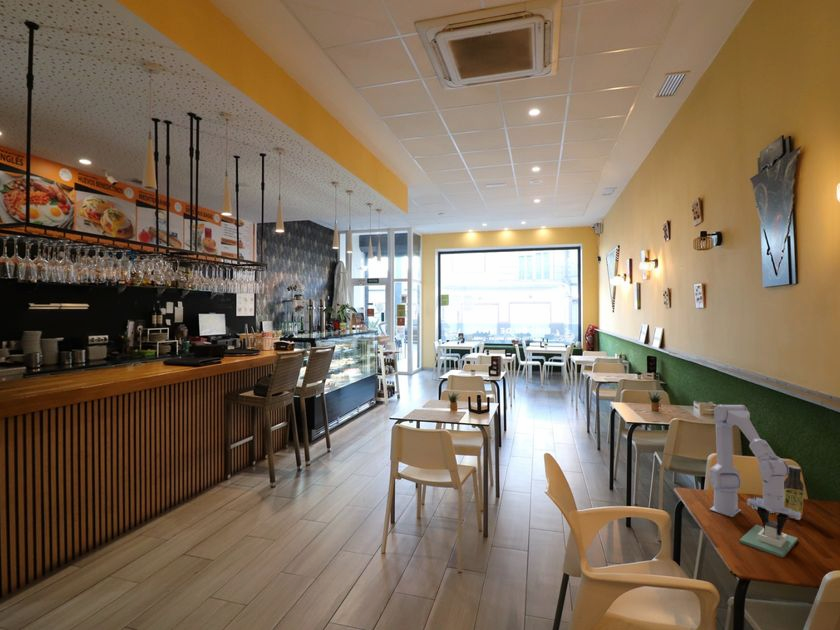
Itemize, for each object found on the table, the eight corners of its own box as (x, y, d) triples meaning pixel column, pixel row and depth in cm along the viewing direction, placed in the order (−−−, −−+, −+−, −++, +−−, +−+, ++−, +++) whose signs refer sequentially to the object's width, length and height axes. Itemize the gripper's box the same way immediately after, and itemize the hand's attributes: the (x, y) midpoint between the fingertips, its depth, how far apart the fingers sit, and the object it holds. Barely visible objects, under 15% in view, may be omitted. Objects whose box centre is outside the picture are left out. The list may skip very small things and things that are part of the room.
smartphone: (776, 501, 185) (774, 512, 174) (776, 503, 185) (774, 515, 174) (754, 496, 190) (751, 507, 179) (754, 498, 190) (751, 509, 179)
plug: (768, 536, 154) (768, 519, 154) (779, 540, 152) (779, 523, 152) (764, 540, 152) (765, 523, 152) (775, 543, 149) (775, 526, 149)
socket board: (755, 527, 163) (756, 519, 163) (797, 540, 153) (797, 532, 153) (739, 542, 152) (739, 533, 152) (783, 557, 142) (783, 548, 142)
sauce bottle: (783, 518, 170) (784, 467, 170) (779, 511, 176) (780, 462, 176) (805, 522, 167) (806, 470, 167) (800, 515, 173) (801, 465, 173)
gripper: (744, 489, 155) (744, 527, 155) (797, 503, 144) (796, 544, 144) (750, 484, 160) (750, 521, 160) (802, 498, 148) (802, 538, 148)
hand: (772, 532), depth 152 cm, fingers closed on plug, 3 cm apart
